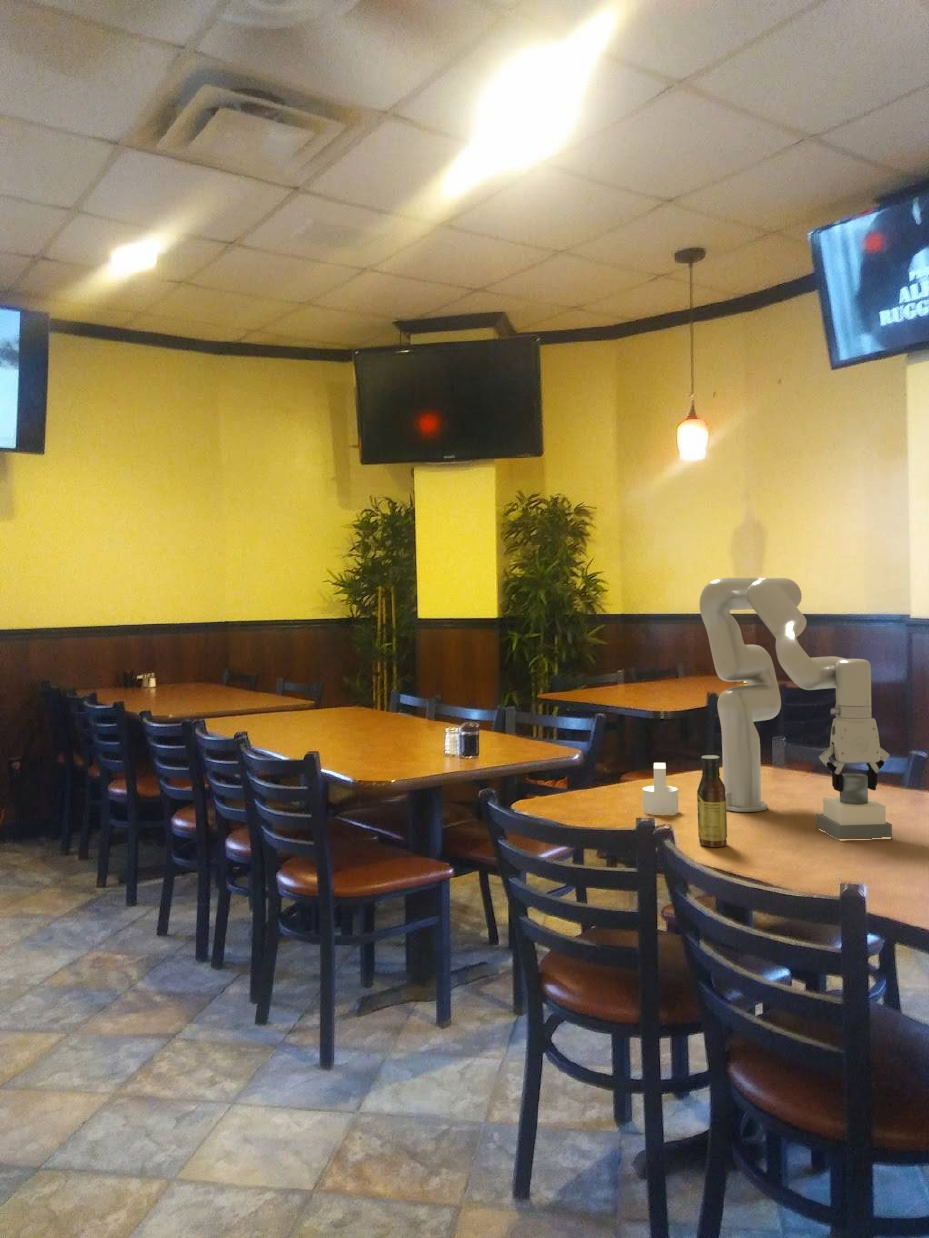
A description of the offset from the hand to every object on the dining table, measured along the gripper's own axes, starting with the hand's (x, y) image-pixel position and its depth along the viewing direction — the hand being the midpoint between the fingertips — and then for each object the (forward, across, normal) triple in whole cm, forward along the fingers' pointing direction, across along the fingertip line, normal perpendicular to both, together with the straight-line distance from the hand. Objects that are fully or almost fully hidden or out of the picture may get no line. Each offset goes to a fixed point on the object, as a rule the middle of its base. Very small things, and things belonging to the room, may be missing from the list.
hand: (854, 789), depth 220 cm
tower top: (+7, 0, 0) cm, 7 cm away
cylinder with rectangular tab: (+11, -37, +30) cm, 49 cm away
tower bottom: (+11, 0, 0) cm, 11 cm away
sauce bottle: (+11, -35, -4) cm, 37 cm away
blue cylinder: (+3, 0, 0) cm, 3 cm away
